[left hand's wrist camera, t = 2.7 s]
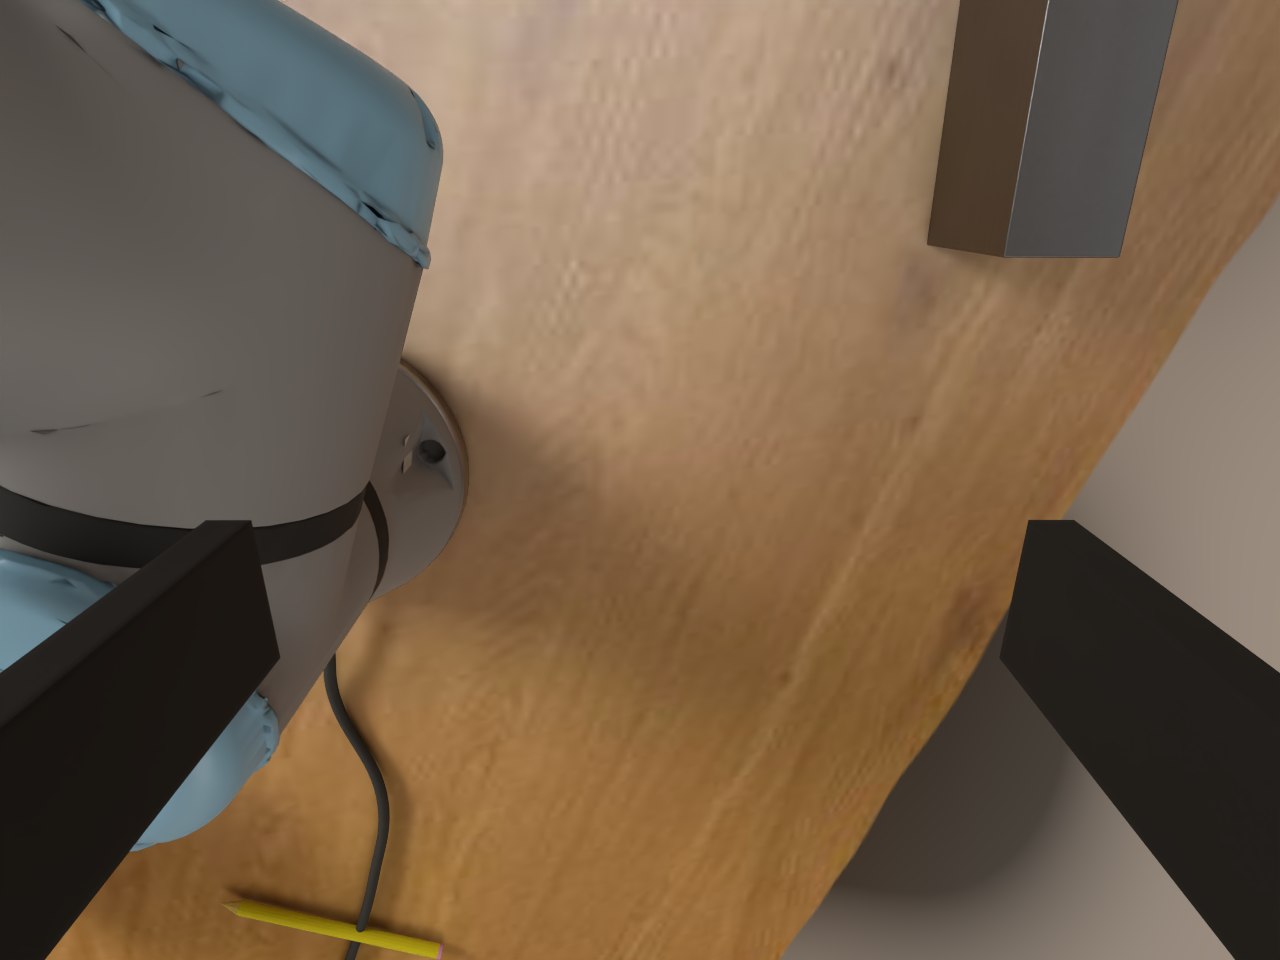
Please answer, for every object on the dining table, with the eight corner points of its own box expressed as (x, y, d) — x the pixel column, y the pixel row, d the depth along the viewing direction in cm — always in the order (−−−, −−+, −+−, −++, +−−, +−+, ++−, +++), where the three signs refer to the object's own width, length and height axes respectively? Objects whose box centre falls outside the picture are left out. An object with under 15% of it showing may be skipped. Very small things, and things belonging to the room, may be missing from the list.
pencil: (444, 941, 55) (441, 953, 54) (441, 949, 56) (438, 962, 55) (224, 892, 53) (216, 904, 52) (222, 901, 54) (215, 914, 53)
